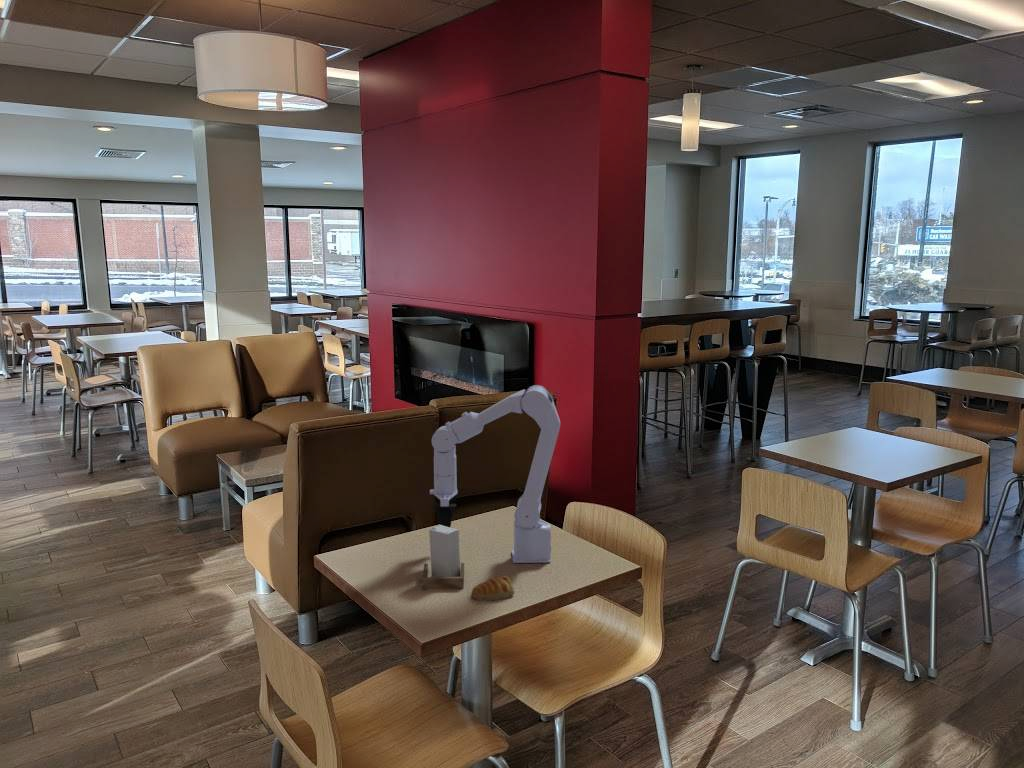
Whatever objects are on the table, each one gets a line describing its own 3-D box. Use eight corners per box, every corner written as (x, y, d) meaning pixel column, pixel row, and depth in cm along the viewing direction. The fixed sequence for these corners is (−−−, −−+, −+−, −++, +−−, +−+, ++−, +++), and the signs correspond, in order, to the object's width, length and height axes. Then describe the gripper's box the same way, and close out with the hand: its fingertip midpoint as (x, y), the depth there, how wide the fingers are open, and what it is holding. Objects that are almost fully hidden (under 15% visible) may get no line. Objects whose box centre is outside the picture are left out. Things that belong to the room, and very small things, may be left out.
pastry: (479, 605, 164) (479, 589, 163) (466, 594, 170) (466, 578, 169) (516, 597, 168) (516, 580, 168) (502, 586, 174) (502, 570, 174)
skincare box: (461, 577, 178) (460, 529, 176) (448, 583, 175) (448, 534, 173) (441, 571, 182) (441, 523, 180) (429, 577, 178) (428, 528, 176)
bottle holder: (464, 572, 181) (464, 563, 180) (463, 588, 172) (463, 578, 172) (424, 573, 180) (424, 563, 180) (422, 589, 172) (421, 578, 171)
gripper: (431, 466, 196) (432, 515, 198) (427, 482, 182) (428, 535, 184) (457, 465, 196) (458, 515, 198) (456, 481, 182) (457, 534, 184)
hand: (446, 524), depth 191 cm, fingers open, 7 cm apart
